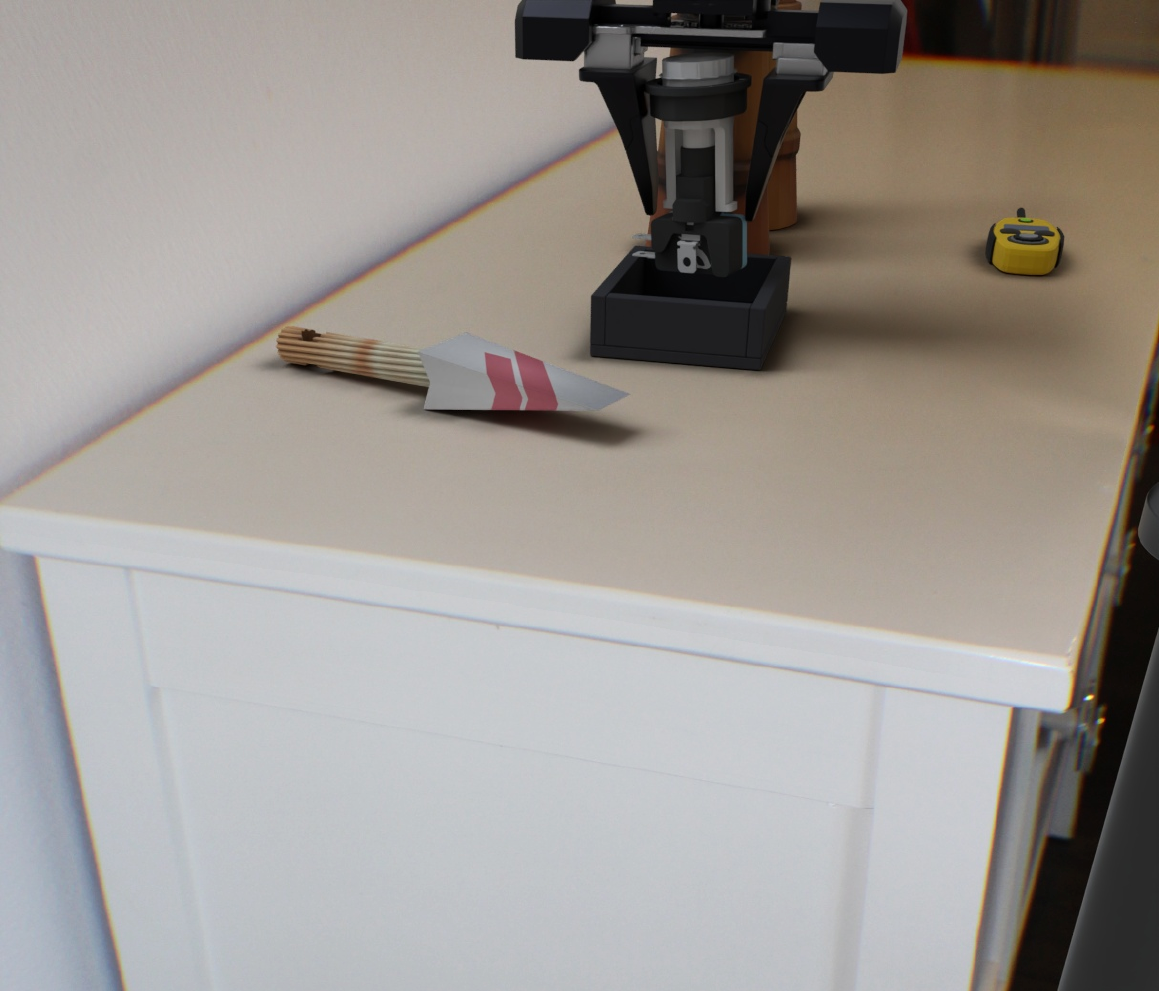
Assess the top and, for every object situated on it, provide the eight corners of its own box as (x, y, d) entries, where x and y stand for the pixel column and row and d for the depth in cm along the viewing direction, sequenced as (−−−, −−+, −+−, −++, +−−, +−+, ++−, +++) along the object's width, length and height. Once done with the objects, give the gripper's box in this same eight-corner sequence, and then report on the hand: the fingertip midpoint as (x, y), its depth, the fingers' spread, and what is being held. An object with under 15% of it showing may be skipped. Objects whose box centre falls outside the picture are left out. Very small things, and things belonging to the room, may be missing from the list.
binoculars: (755, 270, 90) (785, -113, 78) (630, 259, 92) (641, -117, 80) (807, 209, 104) (839, -123, 93) (697, 201, 106) (715, -126, 94)
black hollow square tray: (786, 313, 83) (791, 256, 81) (760, 370, 74) (765, 308, 72) (632, 301, 84) (634, 245, 82) (589, 356, 76) (590, 295, 74)
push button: (611, 276, 77) (601, 65, 71) (659, 252, 80) (653, 49, 75) (722, 285, 74) (721, 65, 68) (767, 260, 77) (769, 50, 72)
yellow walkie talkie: (990, 241, 89) (988, 191, 101) (984, 273, 90) (983, 220, 102) (1069, 246, 89) (1059, 195, 100) (1063, 278, 90) (1053, 224, 101)
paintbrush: (590, 380, 62) (258, 325, 72) (591, 442, 64) (267, 380, 73) (637, 358, 65) (311, 307, 74) (637, 418, 67) (318, 360, 76)
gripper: (931, -145, 71) (889, 196, 80) (567, -149, 74) (566, 178, 84) (920, -141, 62) (874, 241, 71) (508, -146, 66) (515, 219, 75)
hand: (700, 217), depth 75 cm, fingers closed on push button, 5 cm apart
